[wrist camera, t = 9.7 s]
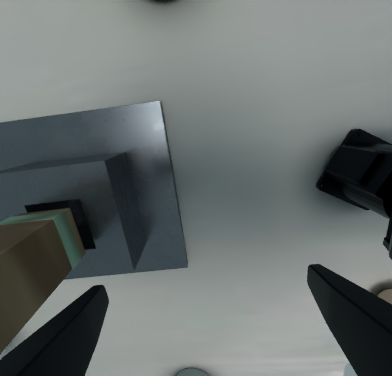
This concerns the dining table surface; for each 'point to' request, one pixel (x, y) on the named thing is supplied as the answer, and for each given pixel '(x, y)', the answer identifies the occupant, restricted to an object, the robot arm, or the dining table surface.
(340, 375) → the dining table surface
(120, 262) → the stand
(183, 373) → the cup
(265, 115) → the dining table surface
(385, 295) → the egg
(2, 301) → the post
